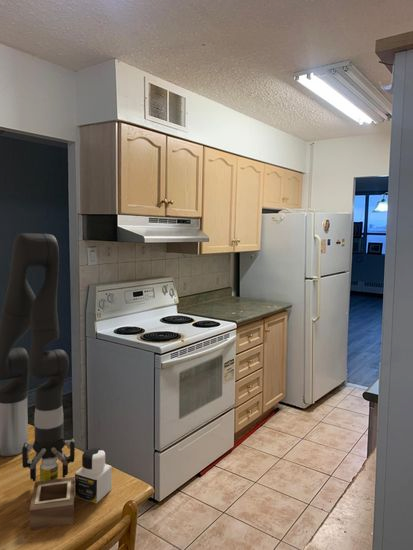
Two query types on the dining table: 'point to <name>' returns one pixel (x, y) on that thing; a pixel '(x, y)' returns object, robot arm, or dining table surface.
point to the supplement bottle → (49, 469)
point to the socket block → (52, 503)
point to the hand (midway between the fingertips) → (49, 477)
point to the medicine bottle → (93, 476)
